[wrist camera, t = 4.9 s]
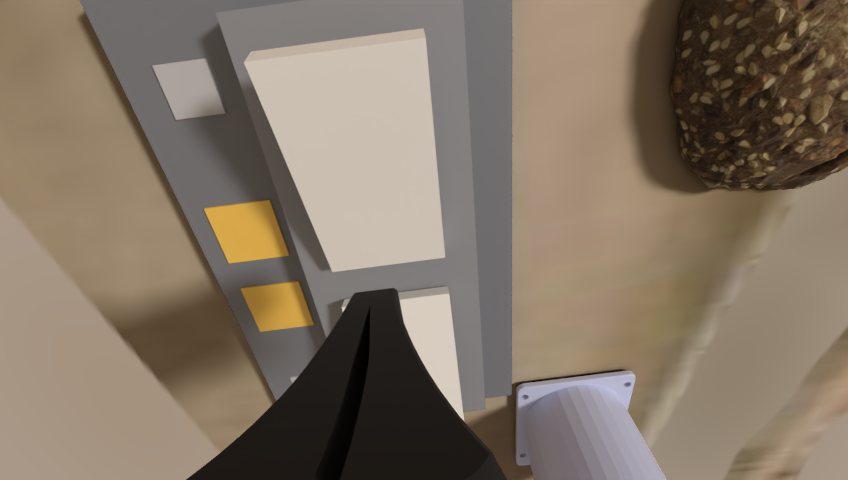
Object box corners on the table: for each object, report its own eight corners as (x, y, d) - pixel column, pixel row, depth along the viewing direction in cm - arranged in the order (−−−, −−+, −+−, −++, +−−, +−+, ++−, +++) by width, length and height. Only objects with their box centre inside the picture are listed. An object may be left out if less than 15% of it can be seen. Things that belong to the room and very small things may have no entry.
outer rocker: (441, 236, 18) (445, 257, 17) (334, 250, 18) (332, 272, 17) (421, 22, 11) (425, 37, 10) (254, 45, 11) (243, 62, 10)
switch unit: (507, 382, 26) (517, 415, 24) (290, 409, 26) (281, 444, 24) (505, -57, 14) (524, -70, 12) (98, -1, 14) (44, -3, 12)
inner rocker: (463, 426, 22) (467, 445, 20) (376, 437, 22) (373, 456, 20) (446, 281, 19) (449, 293, 18) (346, 294, 19) (341, 307, 18)
